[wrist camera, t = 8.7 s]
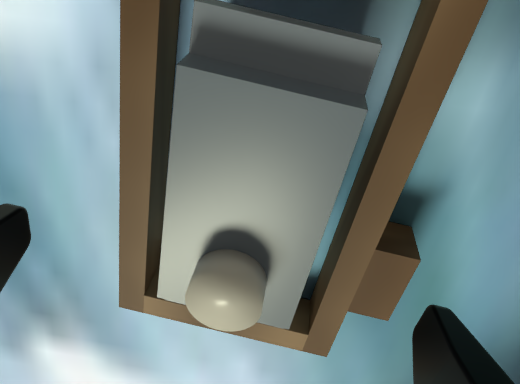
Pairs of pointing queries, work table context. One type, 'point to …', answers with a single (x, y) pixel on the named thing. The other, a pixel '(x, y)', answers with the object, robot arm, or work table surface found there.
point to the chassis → (360, 198)
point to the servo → (257, 159)
